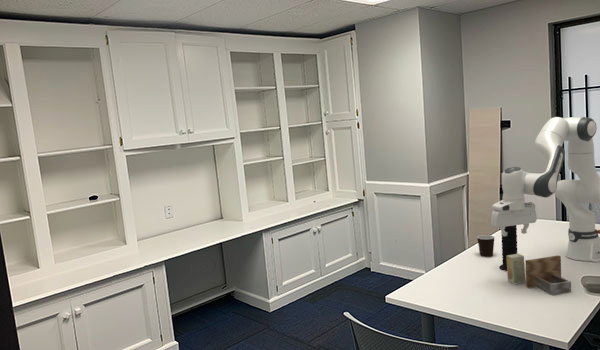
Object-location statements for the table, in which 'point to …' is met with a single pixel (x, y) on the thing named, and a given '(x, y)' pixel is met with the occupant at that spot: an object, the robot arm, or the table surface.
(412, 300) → the table surface
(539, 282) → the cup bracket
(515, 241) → the handle grip
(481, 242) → the coffee mug
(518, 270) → the skincare box
